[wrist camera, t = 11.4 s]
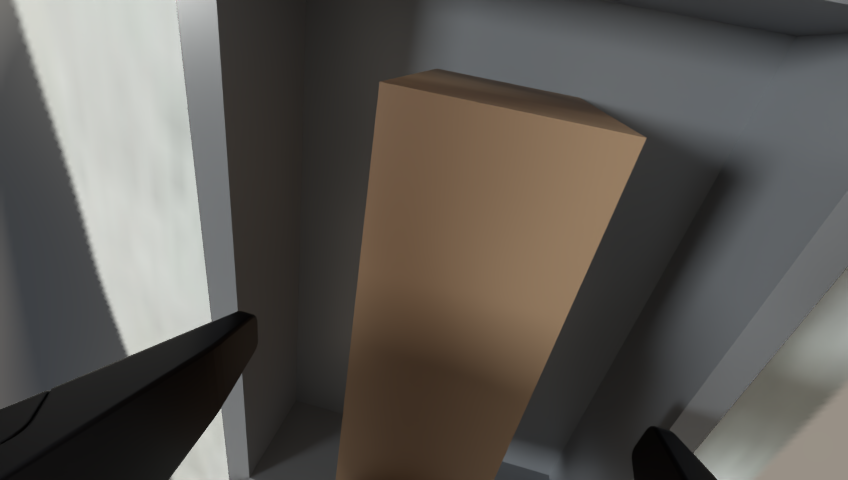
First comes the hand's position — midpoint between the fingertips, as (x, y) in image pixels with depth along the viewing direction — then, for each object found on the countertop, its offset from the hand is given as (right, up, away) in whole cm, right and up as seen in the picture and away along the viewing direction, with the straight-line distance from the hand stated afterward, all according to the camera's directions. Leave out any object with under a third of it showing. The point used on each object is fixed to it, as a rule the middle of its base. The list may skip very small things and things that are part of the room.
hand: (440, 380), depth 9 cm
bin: (+1, +2, +4) cm, 5 cm away
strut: (+1, +2, +4) cm, 4 cm away
